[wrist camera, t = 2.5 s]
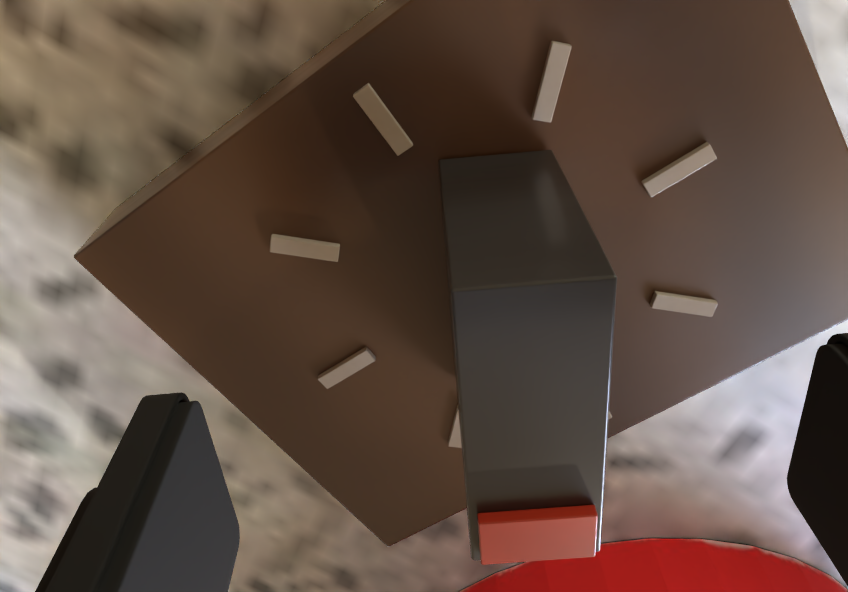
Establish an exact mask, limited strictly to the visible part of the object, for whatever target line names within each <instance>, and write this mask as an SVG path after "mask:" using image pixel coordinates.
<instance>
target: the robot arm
mask: <svg viewBox="0 0 848 592" xmlns="http://www.w3.org/2000/svg"><path fill="white" fill-rule="evenodd" d="M787 485H788V489H789V493H790V495H791V498H792V500H793V501H794V503H795V505H796V506H797V508H798V509H799V511H800V512H801V514H802V515H803V517H804V519H805V520H806V522H807V523H808V525H809V526H810V528H811V530H812V531H813V533H814V534H815V536H816V537H817V539H818V540H819V542H820V544H821V545H822V547H823V548H824V550H825V551H826V553H827V555H828V556H829V558H830V559H831V561H832V562H833V564H834V566H835V567H836V569H837V570H838V572H839V573H840V575H841V576H842V578H843V580H844V581H845V583H846V584H847V586H848V333H843V334H836V335H833V336H832V337H831V338H830V339H829V340H828V343H827V345H822V346H820V348H819V349H818V351H817V353H816V357H815V361H814V365H813V370H812V374H811V378H810V382H809V386H808V391H807V395H806V399H805V403H804V407H803V412H802V416H801V420H800V424H799V428H798V433H797V437H796V441H795V445H794V449H793V453H792V458H791V462H790V466H789V470H788V475H787ZM239 538H240V536H239V524H238V520H237V517H236V514H235V511H234V508H233V505H232V501H231V498H230V495H229V492H228V489H227V486H226V482H225V479H224V476H223V473H222V470H221V467H220V464H219V460H218V457H217V454H216V451H215V448H214V445H213V441H212V438H211V435H210V432H209V429H208V426H207V423H206V419H205V416H204V413H203V410H202V407H201V405H200V403H199V402H198V401H189V399H188V397H187V396H186V395H185V394H184V393H171V394H160V395H149V396H145V397H143V398H142V400H141V401H140V403H139V405H138V407H137V409H136V411H135V413H134V415H133V417H132V419H131V421H130V423H129V425H128V427H127V429H126V431H125V433H124V435H123V437H122V439H121V441H120V443H119V445H118V447H117V449H116V451H115V453H114V455H113V457H112V459H111V461H110V463H109V465H108V467H107V469H106V471H105V473H104V475H103V477H102V479H101V481H100V483H99V485H98V487H97V488H94V489H92V490H91V491H89V492H88V493H87V494H86V496H85V497H84V499H83V500H82V502H81V504H80V506H79V508H78V509H77V511H76V513H75V515H74V517H73V519H72V521H71V523H70V525H69V527H68V529H67V531H66V533H65V535H64V537H63V539H62V541H61V543H60V544H59V546H58V548H57V550H56V552H55V554H54V556H53V558H52V560H51V562H50V564H49V566H48V568H47V570H46V572H45V574H44V576H43V578H42V580H41V581H40V583H39V585H38V587H37V589H36V591H35V592H228V589H229V584H230V580H231V576H232V572H233V568H234V564H235V560H236V555H237V551H238V547H239Z"/></svg>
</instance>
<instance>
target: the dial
mask: <svg viewBox="0 0 848 592" xmlns="http://www.w3.org/2000/svg"><path fill="white" fill-rule="evenodd" d="M438 167H439V179H440V192H441V204H442V216H443V229H444V241H445V254H446V266H447V278H448V291H449V303H450V316H451V328H452V340H453V353H454V365H455V378H456V389H457V401H458V412H459V424H460V435H461V446H462V458H463V469H464V481H465V492H466V503H467V515H468V526H469V538H470V549H471V558H472V559H473V560H481V564H482V565H485V564H499V563H513V562H528V561H542V560H556V559H570V558H584V557H595V555H596V552H598V551H600V548H601V532H602V516H603V500H604V483H605V467H606V451H607V434H608V418H609V402H610V385H611V369H612V353H613V336H614V320H615V304H616V287H617V276H616V274H615V272H614V270H613V268H612V266H611V264H610V262H609V260H608V258H607V257H606V255H605V253H604V251H603V249H602V247H601V245H600V243H599V241H598V239H597V237H596V235H595V233H594V231H593V229H592V227H591V225H590V223H589V221H588V219H587V218H586V216H585V214H584V212H583V210H582V208H581V206H580V204H579V202H578V200H577V198H576V196H575V194H574V192H573V190H572V188H571V186H570V184H569V182H568V181H567V179H566V177H565V175H564V173H563V171H562V169H561V167H560V165H559V163H558V161H557V159H556V157H555V155H554V153H553V151H552V150H543V151H531V152H520V153H509V154H498V155H486V156H475V157H464V158H453V159H441V160H439V162H438Z"/></svg>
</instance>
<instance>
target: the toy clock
mask: <svg viewBox="0 0 848 592" xmlns="http://www.w3.org/2000/svg"><path fill="white" fill-rule="evenodd" d="M459 592H848V589H847V588H846V587H844V586H843V585H842V584H840V583H839V582H838V581H837V580H835V579H834V578H833V577H832V576H830V575H828V574H826V573H824V572H822V571H820V570H818V569H816V568H814V567H812V566H810V565H807V564H805V563H803V562H801V561H799V560H797V559H795V558H792V557H789V556H785V555H782V554H778V553H775V552H771V551H768V550H764V549H761V548H757V547H754V546H749V545H742V544H735V543H727V542H720V541H713V540H705V539H640V540H631V541H621V542H612V543H603V544H601V548H600V551H598V552H596V555H595V557H584V558H570V559H556V560H542V561H528V562H525V563H523V564H520V565H517V566H514V567H511V568H509V569H506V570H503V571H500V572H497V573H495V574H493V575H491V576H489V577H487V578H485V579H483V580H481V581H479V582H477V583H475V584H473V585H471V586H469V587H467V588H465V589H463V590H461V591H459Z"/></svg>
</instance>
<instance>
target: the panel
mask: <svg viewBox="0 0 848 592" xmlns="http://www.w3.org/2000/svg"><path fill="white" fill-rule="evenodd" d="M543 150H552V151H553V153H554V155H555V157H556V159H557V161H558V163H559V165H560V167H561V169H562V171H563V173H564V175H565V177H566V179H567V181H568V182H569V184H570V186H571V188H572V190H573V192H574V194H575V196H576V198H577V200H578V202H579V204H580V206H581V208H582V210H583V212H584V214H585V216H586V218H587V219H588V221H589V223H590V225H591V227H592V229H593V231H594V233H595V235H596V237H597V239H598V241H599V243H600V245H601V247H602V249H603V251H604V253H605V255H606V257H607V258H608V260H609V262H610V264H611V266H612V268H613V270H614V272H615V274H616V276H617V287H616V304H615V320H614V336H613V353H612V369H611V385H610V402H609V418H608V434H607V438H609V437H611V436H613V435H615V434H617V433H619V432H621V431H623V430H625V429H627V428H629V427H631V426H633V425H635V424H638V423H640V422H642V421H644V420H646V419H648V418H650V417H652V416H654V415H656V414H658V413H660V412H662V411H664V410H666V409H668V408H670V407H672V406H674V405H676V404H678V403H680V402H682V401H684V400H686V399H688V398H690V397H692V396H694V395H696V394H698V393H700V392H702V391H704V390H706V389H708V388H710V387H712V386H714V385H716V384H718V383H720V382H722V381H724V380H726V379H728V378H730V377H732V376H735V375H737V374H739V373H741V372H743V371H745V370H747V369H749V368H751V367H753V366H755V365H757V364H759V363H761V362H763V361H765V360H767V359H769V358H771V357H773V356H775V355H777V354H779V353H781V352H783V351H785V350H787V349H789V348H791V347H793V346H795V345H797V344H799V343H801V342H803V341H805V340H807V339H809V338H811V337H813V336H815V335H817V334H819V333H821V332H823V331H825V330H827V329H829V328H832V327H834V326H836V325H838V324H840V323H842V322H844V321H846V320H848V147H847V145H846V142H845V140H844V137H843V135H842V132H841V130H840V127H839V125H838V122H837V120H836V117H835V115H834V112H833V110H832V107H831V105H830V102H829V100H828V98H827V95H826V93H825V90H824V88H823V85H822V83H821V80H820V78H819V75H818V73H817V70H816V68H815V65H814V63H813V60H812V58H811V55H810V53H809V50H808V48H807V45H806V43H805V40H804V38H803V35H802V33H801V30H800V28H799V25H798V23H797V20H796V18H795V15H794V13H793V10H792V8H791V5H790V3H789V0H386V1H385V2H384V3H382V4H381V5H380V6H378V7H377V8H376V9H375V10H373V11H372V12H371V13H369V14H368V15H367V16H365V17H364V18H363V19H362V20H360V21H359V22H358V23H356V24H355V25H354V26H352V27H351V28H350V29H349V30H347V31H346V32H345V33H343V34H342V35H341V36H339V37H338V38H337V39H335V40H334V41H333V42H332V43H330V44H329V45H328V46H326V47H325V48H324V49H322V50H321V51H320V52H319V53H317V54H316V55H315V56H313V57H312V58H311V59H309V60H308V61H307V62H306V63H304V64H303V65H302V66H300V67H299V68H298V69H296V70H295V71H294V72H293V73H291V74H290V75H289V76H287V77H286V78H285V79H283V80H282V81H281V82H280V83H278V84H277V85H276V86H274V87H273V88H272V89H270V90H269V91H268V92H267V93H265V94H264V95H263V96H261V97H260V98H259V99H257V100H256V101H255V102H254V103H252V104H251V105H250V106H248V107H247V108H246V109H244V110H243V111H242V112H240V113H239V114H238V115H237V116H235V117H234V118H233V119H231V120H230V121H229V122H227V123H226V124H225V125H224V126H222V127H221V128H220V129H218V130H217V131H216V132H214V133H213V134H212V135H211V136H209V137H208V138H207V139H205V140H204V141H203V142H201V143H200V144H199V145H198V146H196V147H195V148H194V149H192V150H191V151H190V152H188V153H187V154H186V155H185V156H183V157H182V158H181V159H179V160H178V161H177V162H175V163H174V164H173V165H172V166H170V167H169V168H168V169H166V170H165V171H164V172H162V173H161V174H160V175H159V176H157V177H156V178H155V179H153V180H152V181H151V182H149V183H148V184H147V185H146V186H144V187H143V188H142V189H140V190H139V191H138V192H136V193H135V194H134V195H132V196H131V197H130V198H129V199H127V200H126V201H125V202H123V203H122V204H121V205H119V206H118V207H117V208H116V209H115V210H114V211H113V212H112V213H111V214H110V215H109V217H108V218H107V219H106V220H105V221H104V222H103V223H102V224H101V226H100V227H99V228H98V229H97V230H96V231H95V232H94V233H93V235H92V236H91V237H90V238H89V239H88V240H87V241H86V242H85V244H84V245H83V246H82V247H81V248H80V249H79V250H78V251H77V252H76V254H75V255H74V258H75V259H76V260H77V261H78V262H79V263H80V264H81V265H82V266H83V267H84V268H85V269H87V270H88V271H89V272H90V273H91V274H92V275H93V276H94V277H95V278H96V279H97V280H99V281H100V282H101V283H102V284H103V285H104V286H105V287H106V288H107V289H108V290H109V291H110V292H112V293H113V294H114V295H115V296H116V297H117V298H118V299H119V300H120V301H121V302H122V303H124V304H125V305H126V306H127V307H128V308H129V309H130V310H131V311H132V312H133V313H134V314H135V315H137V316H138V317H139V318H140V319H141V320H142V321H143V322H144V323H145V324H146V325H147V326H149V327H150V328H151V329H152V330H153V331H154V332H155V333H156V334H157V335H158V336H159V337H161V338H162V339H163V340H164V341H165V342H166V343H167V344H168V345H169V346H170V347H171V348H172V349H174V350H175V351H176V352H177V353H178V354H179V355H180V356H181V357H182V358H183V359H184V360H186V361H187V362H188V363H189V364H190V365H191V366H192V367H193V368H194V369H195V370H196V371H197V372H199V373H200V374H201V375H202V376H203V377H204V378H205V379H206V380H207V381H208V382H209V383H211V384H212V385H213V386H214V387H215V388H216V389H217V390H218V391H219V392H220V393H221V394H222V395H224V396H225V397H226V398H227V399H228V400H229V401H230V402H231V403H232V404H233V405H234V406H236V407H237V408H238V409H239V410H240V411H241V412H242V413H243V414H244V415H245V416H246V417H248V418H249V419H250V420H251V421H252V422H253V423H254V424H255V425H256V426H257V427H258V428H259V429H261V430H262V431H263V432H264V433H265V434H266V435H267V436H268V437H269V438H270V439H271V440H273V441H274V442H275V443H276V444H277V445H278V446H279V447H280V448H281V449H282V450H283V451H284V452H286V453H287V454H288V455H289V456H290V457H291V458H292V459H293V460H294V461H295V462H296V463H298V464H299V465H300V466H301V467H302V468H303V469H304V470H305V471H306V472H307V473H308V474H309V475H311V476H312V477H313V478H314V479H315V480H316V481H317V482H318V483H319V484H320V485H321V486H323V487H324V488H325V489H326V490H327V491H328V492H329V493H330V494H331V495H332V496H333V497H335V498H336V499H337V500H338V501H339V502H340V503H341V504H342V505H343V506H344V507H345V508H346V509H348V510H349V511H350V512H351V513H352V514H353V515H354V516H355V517H356V518H357V519H358V520H360V521H361V522H362V523H363V524H364V525H365V526H366V527H367V528H368V529H369V530H370V531H371V532H373V533H374V534H375V535H376V536H377V537H378V538H379V539H380V540H381V541H382V542H383V543H385V544H386V545H387V546H391V545H393V544H395V543H397V542H399V541H401V540H403V539H405V538H407V537H409V536H411V535H413V534H415V533H417V532H419V531H421V530H423V529H425V528H427V527H429V526H431V525H433V524H435V523H437V522H439V521H441V520H443V519H446V518H448V517H450V516H452V515H454V514H456V513H458V512H460V511H462V510H464V509H466V508H467V503H466V492H465V481H464V469H463V458H462V446H461V435H460V424H459V412H458V401H457V389H456V378H455V365H454V353H453V340H452V328H451V316H450V303H449V291H448V278H447V266H446V254H445V241H444V229H443V216H442V204H441V192H440V179H439V167H438V162H439V160H441V159H453V158H464V157H475V156H486V155H498V154H509V153H520V152H531V151H543Z"/></svg>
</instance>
